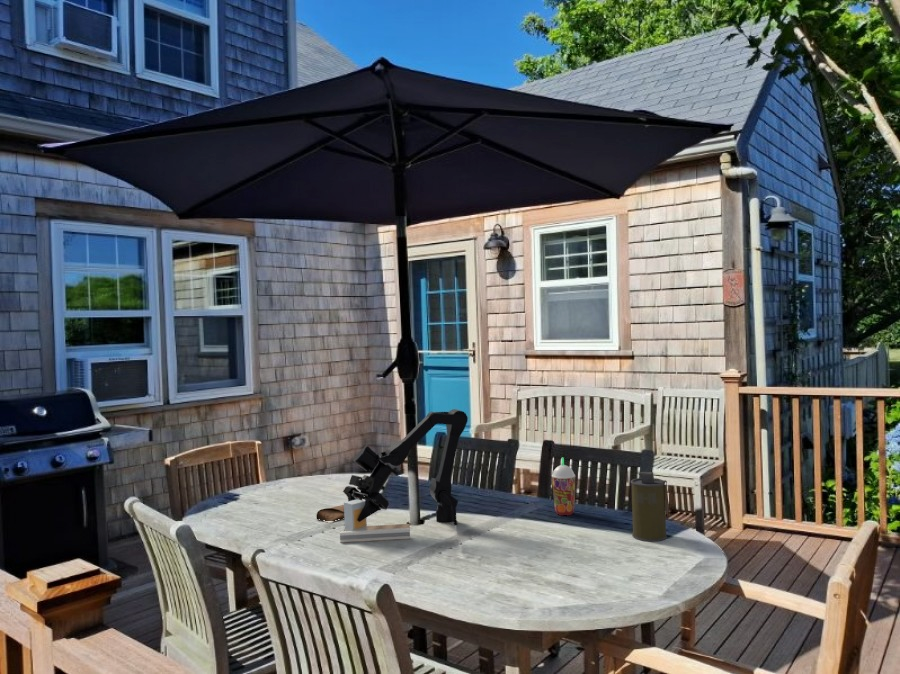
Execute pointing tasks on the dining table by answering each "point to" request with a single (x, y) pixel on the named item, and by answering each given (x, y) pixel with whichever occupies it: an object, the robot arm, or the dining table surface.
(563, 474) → the smoothie
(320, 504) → the dining table surface
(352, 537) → the rail
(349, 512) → the carton
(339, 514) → the sunglasses case
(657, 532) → the canister
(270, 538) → the dining table surface
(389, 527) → the shelf board
